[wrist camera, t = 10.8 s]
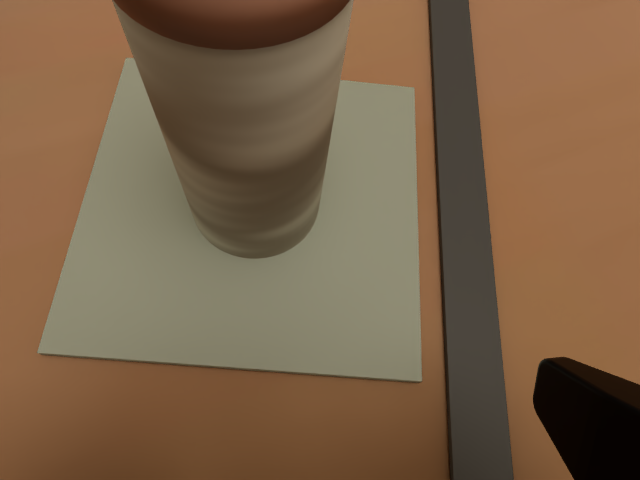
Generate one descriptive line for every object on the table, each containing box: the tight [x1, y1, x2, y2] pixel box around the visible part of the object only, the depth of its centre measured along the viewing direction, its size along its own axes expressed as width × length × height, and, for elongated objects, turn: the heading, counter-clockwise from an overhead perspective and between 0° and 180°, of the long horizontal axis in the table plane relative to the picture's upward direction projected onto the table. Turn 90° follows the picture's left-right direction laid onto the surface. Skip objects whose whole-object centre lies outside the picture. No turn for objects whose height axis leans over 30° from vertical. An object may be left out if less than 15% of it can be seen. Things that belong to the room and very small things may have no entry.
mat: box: [37, 58, 422, 383], centre depth 19 cm, size 13×13×1 cm
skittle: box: [112, 0, 354, 259], centre depth 13 cm, size 5×5×13 cm
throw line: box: [429, 0, 514, 480], centre depth 19 cm, size 30×2×1 cm, turn 176°
